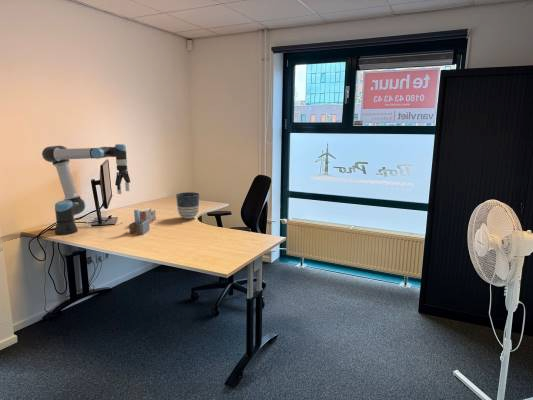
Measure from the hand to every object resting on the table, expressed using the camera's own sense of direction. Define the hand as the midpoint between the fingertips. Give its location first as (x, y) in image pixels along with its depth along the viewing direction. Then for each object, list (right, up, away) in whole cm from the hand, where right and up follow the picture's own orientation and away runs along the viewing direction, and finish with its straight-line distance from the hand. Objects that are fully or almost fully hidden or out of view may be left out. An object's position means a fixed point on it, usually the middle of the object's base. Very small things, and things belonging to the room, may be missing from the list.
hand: (123, 192), depth 286 cm
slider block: (+13, -30, -4) cm, 33 cm away
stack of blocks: (+11, -25, +24) cm, 36 cm away
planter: (+42, -22, +40) cm, 62 cm away
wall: (+18, -30, -5) cm, 36 cm away
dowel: (+13, -27, -5) cm, 30 cm away
